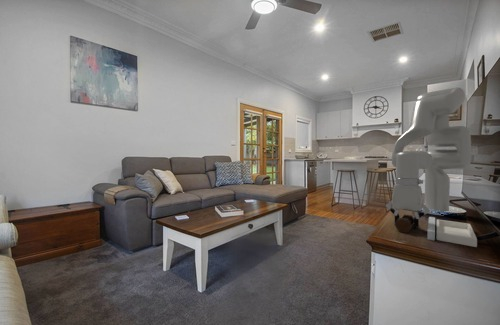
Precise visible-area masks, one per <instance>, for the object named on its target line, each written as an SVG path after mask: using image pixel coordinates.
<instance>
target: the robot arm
mask: <svg viewBox="0 0 500 325" xmlns="http://www.w3.org/2000/svg"><path fill="white" fill-rule="evenodd" d="M465 99H466V95H465V91H464V89H463V88H462V87H451V88H447V89H446V88H445V89H440V90H435V91H433V90H432V91H430V92H424V93H422V94H420V95H419V96H417V97H416V102H415V103H414V106H413V110H412V115H411V119H410V122H409V123H410V124H409V129H408V130H406V131H405V132H404V133H403V134H402V135H401V136H400V137H399V138H398V139H397V140H396V141H395V142H394V146H393V150H392V154H391V164H392V166H393V167H394V168H395V170H396V171H395V172H396V173H395V175H396V176H395V184H393V185H394V186H393V189H392V195H391V200H390V201H388V203H387V204H386V205H385V208H386V209H388V210H389V212H391V213H392V214H393V216H394V223H395V222H396V221H397V220H398V219H399V218H400V214H399V212H400V210H402V211H409V212H413V214H414V217H413V218H414V223H413V229H417V227H419V226H420V224H419V222H420V221H419V219H421V218H422V217H423V216H425V215H426V214H429V215H435V216H442V217H443V216H444V215H441V214H439V213H431V212H430V210H429V209H434V210H440V211H449V210H450V193H451V192H450V189H451V187H450V185H451V184H450V182H451V178H450V175H449V174H448V173H447V172H446V171H445V170H463V171H464V170H467V169H468V168H469V167H470V166H471V163H472V162H471V161H472V159H471V158H472V136H471V135H472V134H471V131H470V128H468V127H467V126H464V125H455V126H454V125H453V126H450V117H449V115H450V114H454V113H455V112H456V111H457V110H458V109H459V108H460V107H461V106H462V105H463V103H464V101H465ZM422 138H426V142H427V145H428V146H429V147H432V148H433V147H435V148H442V147H443V148H444V147H445V148H446V147H449V148H450V147H451V148H452V149H432V150H427V151H419V150H418V151H417V150H416V151H415V150H414V151H405V148H406V147H407V146H408V145H410V144H411V143H413V142H416V141H417V140H419V139H422ZM453 147H455V148H456V149H453ZM420 170H424V180H421V179H420V178H419V177H420V176H419V172H420ZM422 184H423V185H424V202H423V191H422V186H421V185H422ZM422 208H423V209H424V211H421V210H422Z"/></svg>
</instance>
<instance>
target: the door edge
mask: <svg viewBox="0 0 500 325" xmlns="http://www.w3.org/2000/svg"><path fill="white" fill-rule="evenodd" d="M427 223H428V224H427V234H426V235H427V240H429V241H435V240H436V217H434V216H429V217H428V222H427Z"/></svg>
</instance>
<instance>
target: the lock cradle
mask: <svg viewBox="0 0 500 325" xmlns="http://www.w3.org/2000/svg"><path fill="white" fill-rule="evenodd" d="M435 227H436V241H441V242H445V243H452V244H458V245H462V246H463V245H464V246H467V247H468V246H469V247H474V248H477V247H478V239H477V238H478V237H477V236H476V234H475V232H474V229H473V227H472V225H471V223H467V222H466V223H465V222H461V221H460V222H459V221H451V220H446V219H445V220H444V219H439V218H438V219H437V218H436V224H435Z"/></svg>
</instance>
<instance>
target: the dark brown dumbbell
mask: <svg viewBox="0 0 500 325" xmlns="http://www.w3.org/2000/svg"><path fill="white" fill-rule="evenodd" d="M394 226H395V228H396V230H397V231H398V232H401V233H406V234H407V233H409V232H410V231H411V229H412V228H414V217H413V215H411V214H403V215H402V217H399V219H398V220H397V221H396V222H395V221H394Z"/></svg>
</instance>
